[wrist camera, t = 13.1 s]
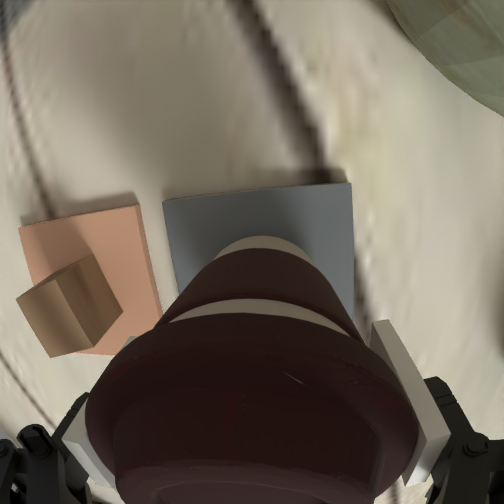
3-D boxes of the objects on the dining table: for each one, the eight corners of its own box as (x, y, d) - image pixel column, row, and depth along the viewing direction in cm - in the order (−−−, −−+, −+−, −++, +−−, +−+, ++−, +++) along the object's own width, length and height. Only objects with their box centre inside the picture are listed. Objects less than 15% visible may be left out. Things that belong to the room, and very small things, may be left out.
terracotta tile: (62, 346, 26) (58, 350, 25) (23, 225, 22) (18, 228, 21) (173, 351, 24) (170, 357, 24) (139, 204, 21) (134, 206, 20)
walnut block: (80, 325, 23) (50, 358, 19) (52, 273, 22) (15, 299, 17) (123, 311, 23) (94, 347, 18) (93, 253, 21) (55, 279, 17)
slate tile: (196, 351, 24) (194, 357, 23) (165, 200, 21) (161, 202, 20) (349, 341, 23) (351, 346, 22) (348, 181, 19) (351, 183, 19)
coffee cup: (197, 197, 18) (12, 331, 4) (359, 230, 18) (512, 410, 4) (180, 336, 22) (96, 525, 7) (316, 362, 22) (342, 562, 7)
